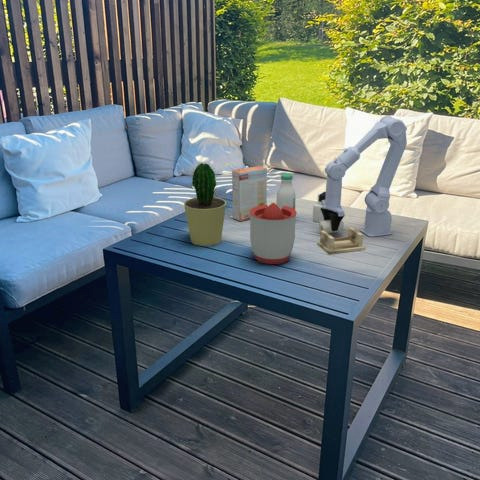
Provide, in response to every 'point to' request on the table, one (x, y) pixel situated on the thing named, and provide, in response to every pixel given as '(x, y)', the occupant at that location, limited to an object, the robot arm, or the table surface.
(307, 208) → the table surface
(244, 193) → the cracker box
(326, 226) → the roll
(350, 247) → the beige wooden frame
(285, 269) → the table surface
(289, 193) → the milk bottle
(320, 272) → the table surface
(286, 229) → the citrus juicer
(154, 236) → the table surface
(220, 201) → the potted cactus
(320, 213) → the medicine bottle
